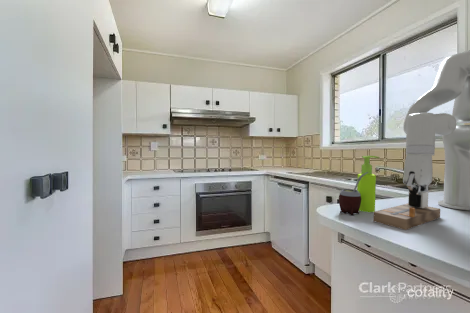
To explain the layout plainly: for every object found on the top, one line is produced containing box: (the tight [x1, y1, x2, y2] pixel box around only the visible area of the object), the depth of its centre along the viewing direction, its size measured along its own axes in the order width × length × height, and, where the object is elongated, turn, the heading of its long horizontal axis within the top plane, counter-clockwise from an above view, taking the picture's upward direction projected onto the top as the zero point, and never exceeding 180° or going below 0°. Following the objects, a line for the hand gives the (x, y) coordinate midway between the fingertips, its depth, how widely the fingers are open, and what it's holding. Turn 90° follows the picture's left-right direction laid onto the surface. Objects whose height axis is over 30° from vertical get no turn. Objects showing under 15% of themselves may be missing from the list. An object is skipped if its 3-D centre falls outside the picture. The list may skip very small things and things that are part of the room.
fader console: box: [372, 203, 441, 231], centre depth 76 cm, size 23×9×6 cm, turn 121°
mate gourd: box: [338, 172, 368, 216], centre depth 82 cm, size 8×8×15 cm
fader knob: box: [407, 191, 429, 208], centre depth 79 cm, size 4×4×5 cm
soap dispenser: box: [356, 155, 380, 213], centre depth 86 cm, size 6×7×20 cm
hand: (418, 205), depth 79 cm, fingers closed on fader knob, 4 cm apart
